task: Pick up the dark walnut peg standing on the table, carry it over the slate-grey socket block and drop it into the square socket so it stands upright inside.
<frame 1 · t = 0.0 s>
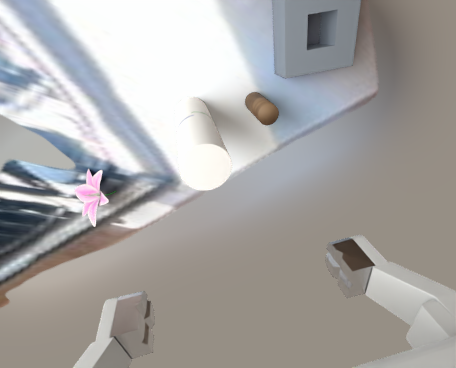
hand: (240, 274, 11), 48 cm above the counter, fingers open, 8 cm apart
cylindrical container: (191, 113, 55), on the counter
socket block: (306, 29, 50), on the counter
walnut peg: (253, 101, 56), on the counter
lily: (98, 183, 59), on the counter
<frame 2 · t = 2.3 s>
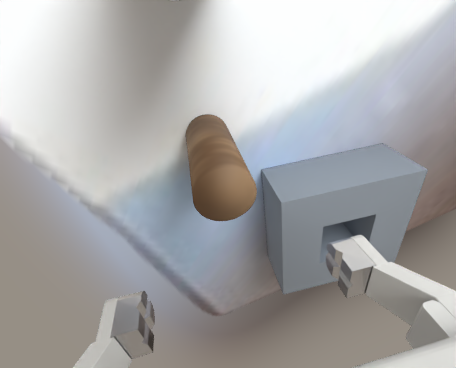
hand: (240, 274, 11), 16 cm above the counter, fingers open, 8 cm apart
socket block: (319, 205, 31), on the counter
walnut peg: (207, 135, 24), on the counter
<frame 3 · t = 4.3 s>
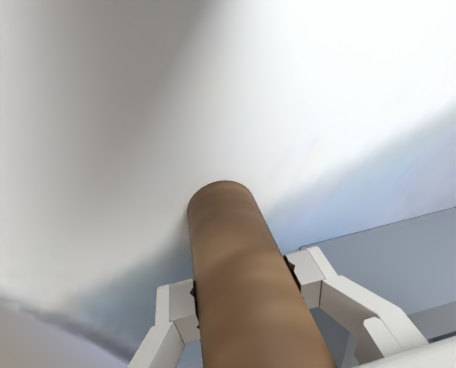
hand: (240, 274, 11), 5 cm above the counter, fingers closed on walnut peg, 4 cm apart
socket block: (372, 281, 23), on the counter
walnut peg: (221, 209, 15), on the counter, touching gripper
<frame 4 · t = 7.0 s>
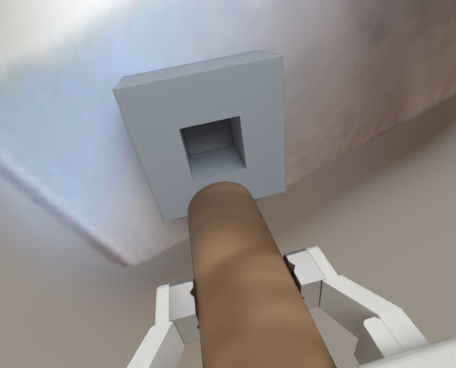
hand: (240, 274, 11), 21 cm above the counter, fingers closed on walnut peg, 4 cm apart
socket block: (207, 128, 29), on the counter
walnut peg: (221, 210, 15), point 16 cm above the counter, touching gripper
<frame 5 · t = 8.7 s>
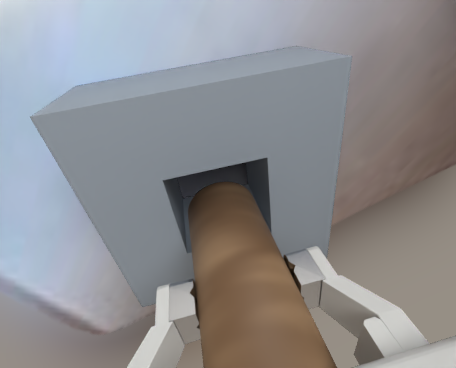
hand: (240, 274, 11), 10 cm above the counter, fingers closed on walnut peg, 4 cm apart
socket block: (210, 162, 20), on the counter
walnut peg: (222, 210, 15), point 6 cm above the counter, touching gripper
when the fingers open (8 cm above the counter, at t = 9.9 s): walnut peg drops 3 cm, resting in socket block.
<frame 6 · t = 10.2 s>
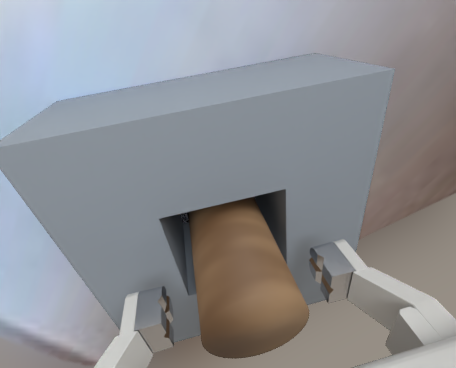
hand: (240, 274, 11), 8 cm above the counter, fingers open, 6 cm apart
socket block: (213, 183, 17), on the counter
walnut peg: (214, 183, 17), resting in socket block
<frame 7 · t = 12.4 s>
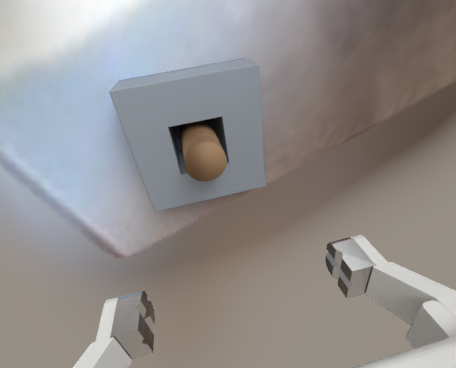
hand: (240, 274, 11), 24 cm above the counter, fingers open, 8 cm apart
socket block: (195, 128, 32), on the counter
walnut peg: (195, 128, 32), resting in socket block
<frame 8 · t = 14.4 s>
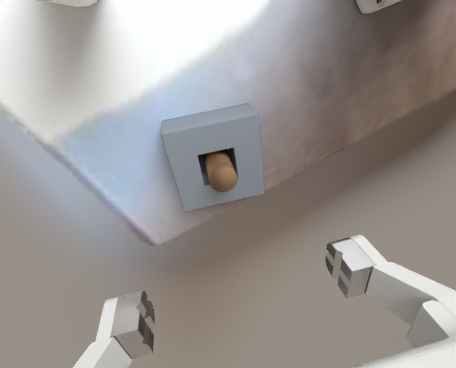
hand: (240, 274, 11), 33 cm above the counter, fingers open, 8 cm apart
socket block: (213, 151, 44), on the counter
walnut peg: (213, 151, 44), resting in socket block
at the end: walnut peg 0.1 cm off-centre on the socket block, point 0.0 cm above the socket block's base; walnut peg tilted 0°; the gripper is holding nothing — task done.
